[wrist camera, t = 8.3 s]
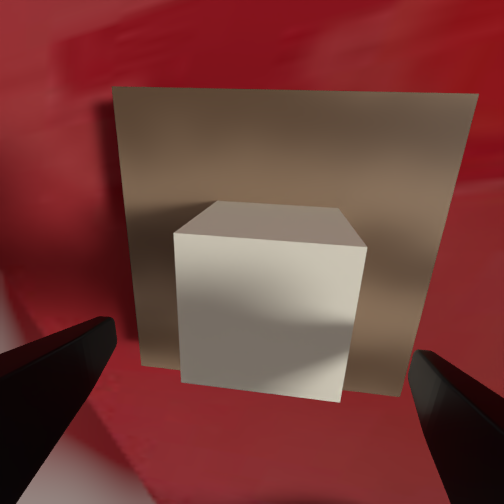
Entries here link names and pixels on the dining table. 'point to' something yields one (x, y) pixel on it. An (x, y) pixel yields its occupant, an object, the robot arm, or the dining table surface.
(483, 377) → the dining table surface
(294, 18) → the dining table surface
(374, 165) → the walnut base
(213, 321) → the cream cube
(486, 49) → the dining table surface
